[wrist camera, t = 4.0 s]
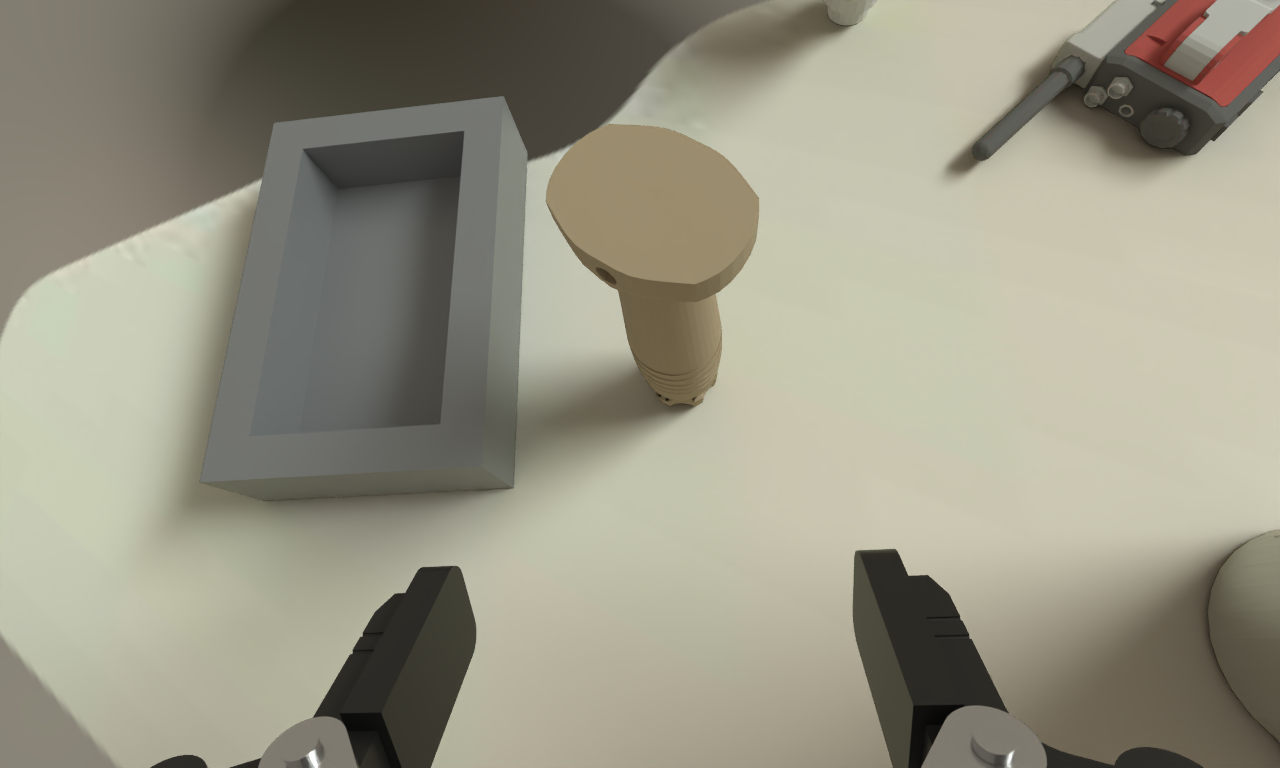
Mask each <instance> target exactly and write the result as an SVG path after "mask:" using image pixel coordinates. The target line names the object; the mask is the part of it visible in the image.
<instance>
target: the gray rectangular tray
mask: <svg viewBox="0 0 1280 768" xmlns="http://www.w3.org/2000/svg"><path fill="white" fill-rule="evenodd" d="M526 172H527V151H526V149H525V146H524V144H523V142H522V140H521V137H520V134H519V132H518V130H517V127H516V125H515V123H514V120H513V118H512V115H511V113H510V111H509V108H508V106H507V104H506V101H505V99H504V97H503V96H501V97H492V98H484V99H476V100H467V101H458V102H450V103H441V104H433V105H425V106H416V107H407V108H398V109H390V110H382V111H374V112H364V113H356V114H348V115H339V116H330V117H322V118H313V119H304V120H296V121H287V122H279V123H274V126H273V131H272V136H271V141H270V145H269V150H268V155H267V160H266V164H265V169H264V174H263V179H262V184H261V188H260V193H259V198H258V203H257V208H256V213H255V217H254V222H253V227H252V232H251V237H250V241H249V246H248V251H247V256H246V261H245V266H244V270H243V275H242V280H241V285H240V290H239V295H238V299H237V304H236V309H235V314H234V319H233V324H232V328H231V333H230V338H229V343H228V348H227V352H226V357H225V362H224V367H223V372H222V377H221V381H220V386H219V391H218V396H217V401H216V406H215V410H214V415H213V420H212V425H211V430H210V435H209V439H208V444H207V449H206V454H205V459H204V463H203V468H202V473H201V478H200V483H204V484H207V485H211V486H214V487H218V488H221V489H225V490H228V491H232V492H235V493H239V494H242V495H246V496H249V497H253V498H256V499H260V500H263V501H271V500H291V499H310V498H329V497H348V496H367V495H386V494H405V493H425V492H444V491H463V490H482V489H501V488H514V465H515V440H516V416H517V392H518V367H519V343H520V319H521V294H522V270H523V245H524V221H525V197H526Z"/></svg>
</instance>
